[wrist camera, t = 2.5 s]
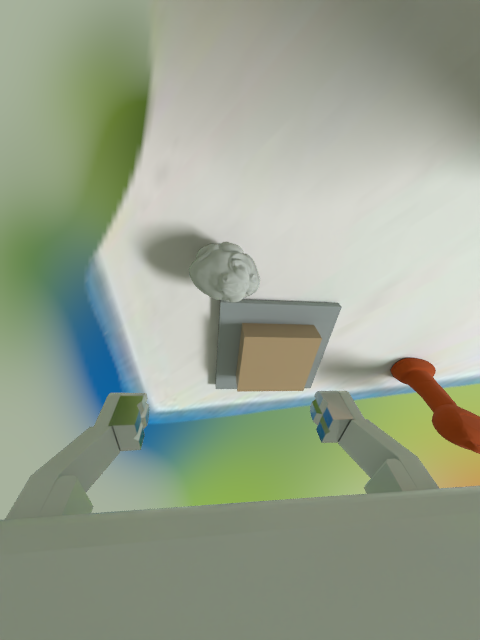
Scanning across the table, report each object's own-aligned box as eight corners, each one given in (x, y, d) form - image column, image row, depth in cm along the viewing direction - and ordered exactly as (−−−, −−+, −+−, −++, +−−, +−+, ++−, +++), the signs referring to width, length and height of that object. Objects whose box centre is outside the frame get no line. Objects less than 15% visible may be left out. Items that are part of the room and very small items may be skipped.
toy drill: (464, 397, 45) (549, 485, 33) (381, 370, 42) (439, 455, 30) (486, 380, 43) (588, 468, 30) (400, 350, 40) (472, 433, 27)
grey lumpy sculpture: (246, 287, 30) (254, 318, 24) (189, 280, 28) (183, 310, 23) (257, 239, 26) (269, 261, 21) (194, 227, 25) (188, 248, 19)
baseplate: (220, 298, 30) (221, 315, 27) (338, 303, 32) (352, 319, 29) (215, 384, 39) (215, 404, 36) (308, 383, 41) (316, 403, 38)
